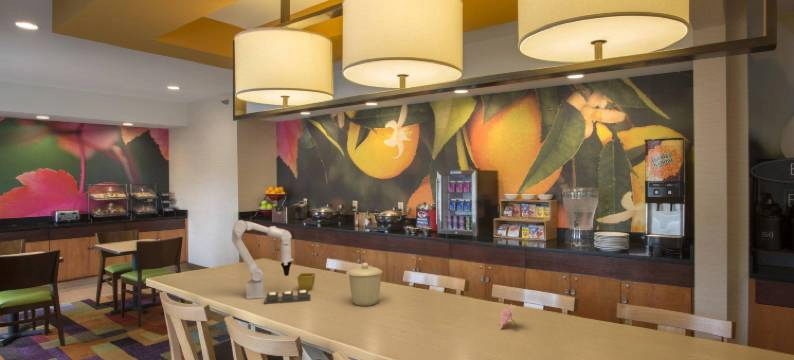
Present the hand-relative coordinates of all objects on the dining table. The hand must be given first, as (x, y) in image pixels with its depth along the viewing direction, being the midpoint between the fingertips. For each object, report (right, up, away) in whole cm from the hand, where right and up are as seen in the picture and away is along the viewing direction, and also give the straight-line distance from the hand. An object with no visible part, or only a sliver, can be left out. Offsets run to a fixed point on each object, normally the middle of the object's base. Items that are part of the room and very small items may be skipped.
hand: (286, 275), depth 259 cm
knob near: (-4, -10, -15) cm, 18 cm away
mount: (+4, -10, -13) cm, 17 cm away
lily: (+110, -9, -64) cm, 128 cm away
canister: (+47, -10, -23) cm, 53 cm away
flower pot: (+10, -10, +8) cm, 16 cm away
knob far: (+12, -9, -12) cm, 19 cm away
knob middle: (+4, -9, -13) cm, 17 cm away
